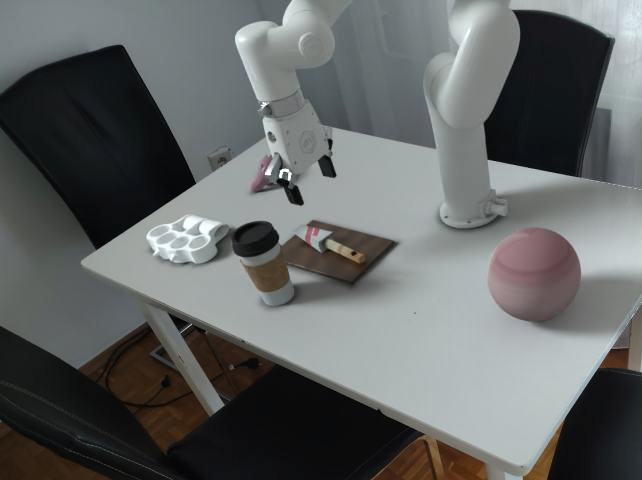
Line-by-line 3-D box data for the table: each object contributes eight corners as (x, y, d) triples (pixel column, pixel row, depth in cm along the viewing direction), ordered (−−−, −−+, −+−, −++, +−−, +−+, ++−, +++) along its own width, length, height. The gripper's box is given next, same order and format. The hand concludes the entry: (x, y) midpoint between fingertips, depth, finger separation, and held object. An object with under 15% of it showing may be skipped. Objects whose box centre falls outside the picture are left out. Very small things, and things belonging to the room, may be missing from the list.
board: (394, 243, 128) (393, 240, 128) (352, 285, 120) (351, 281, 120) (313, 222, 139) (312, 219, 138) (270, 259, 131) (268, 256, 130)
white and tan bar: (301, 217, 133) (367, 248, 123) (305, 228, 135) (370, 260, 125) (287, 226, 131) (353, 259, 121) (291, 237, 133) (356, 270, 123)
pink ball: (514, 274, 115) (507, 202, 105) (594, 291, 109) (595, 217, 98) (476, 327, 107) (464, 255, 96) (560, 350, 100) (557, 275, 90)
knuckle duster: (241, 234, 140) (193, 274, 131) (187, 220, 148) (138, 256, 140) (236, 221, 137) (186, 261, 129) (181, 207, 146) (131, 243, 137)
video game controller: (268, 197, 153) (272, 172, 148) (249, 192, 152) (252, 166, 147) (276, 176, 160) (280, 151, 155) (258, 171, 159) (261, 146, 154)
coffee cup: (280, 315, 117) (251, 249, 107) (248, 304, 121) (217, 239, 111) (309, 287, 122) (284, 221, 112) (277, 277, 126) (250, 213, 115)
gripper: (263, 129, 102) (298, 218, 114) (330, 81, 111) (356, 169, 123) (231, 124, 105) (269, 211, 117) (299, 78, 115) (327, 164, 126)
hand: (314, 189), depth 120 cm, fingers open, 9 cm apart
